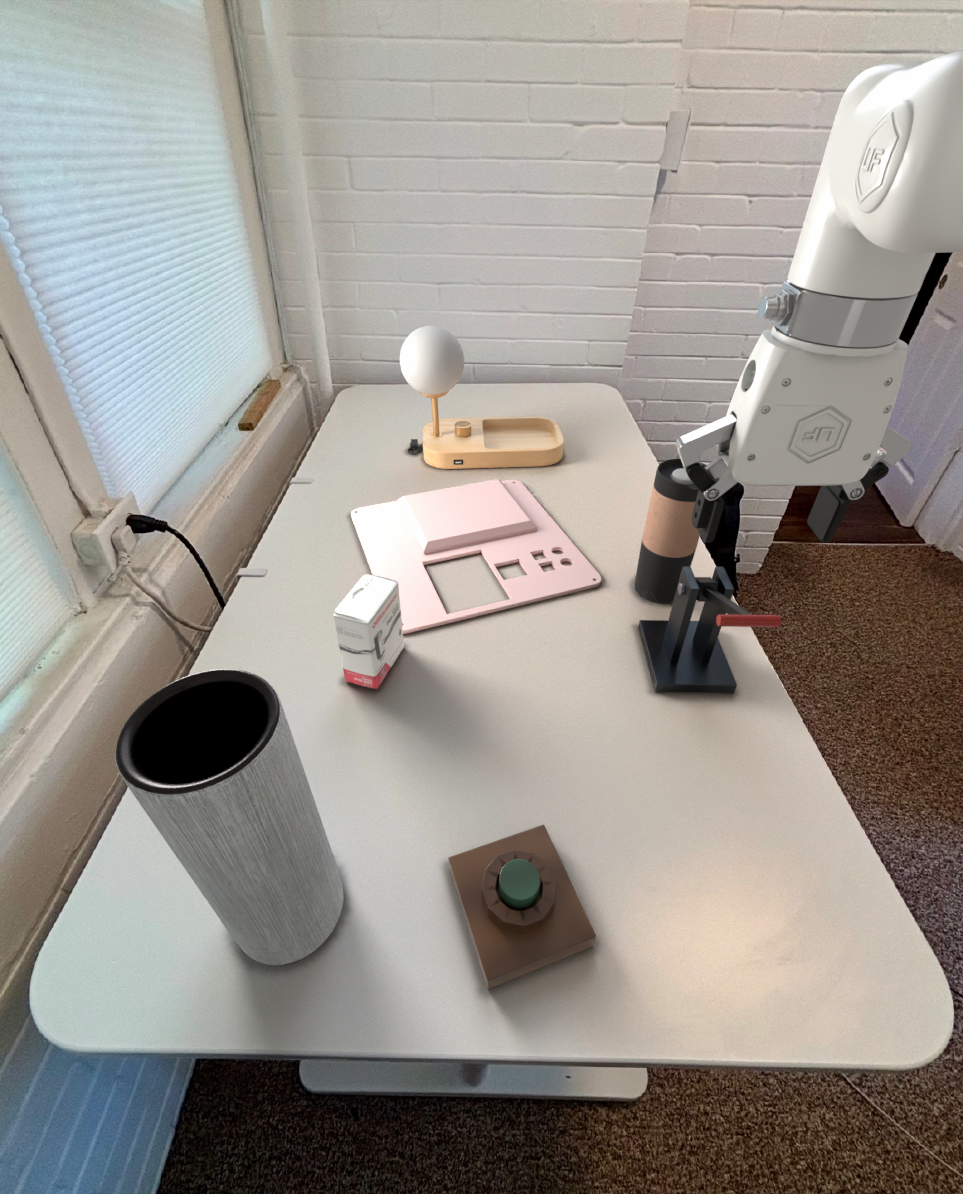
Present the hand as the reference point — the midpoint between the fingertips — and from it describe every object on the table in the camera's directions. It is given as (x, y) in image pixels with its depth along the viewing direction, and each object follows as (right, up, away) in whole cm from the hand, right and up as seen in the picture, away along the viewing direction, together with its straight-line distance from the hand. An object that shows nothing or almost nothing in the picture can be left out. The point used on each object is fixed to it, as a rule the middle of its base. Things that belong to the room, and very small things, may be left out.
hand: (760, 533), depth 50 cm
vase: (-41, -34, +5) cm, 54 cm away
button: (-20, -31, +3) cm, 37 cm away
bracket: (+4, -14, +29) cm, 33 cm away
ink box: (-38, -15, +29) cm, 50 cm away
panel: (-26, +3, +50) cm, 57 cm away
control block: (-20, -34, +5) cm, 40 cm away
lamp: (-23, +26, +78) cm, 85 cm away
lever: (+3, -7, +16) cm, 18 cm away
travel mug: (+4, -4, +41) cm, 41 cm away
